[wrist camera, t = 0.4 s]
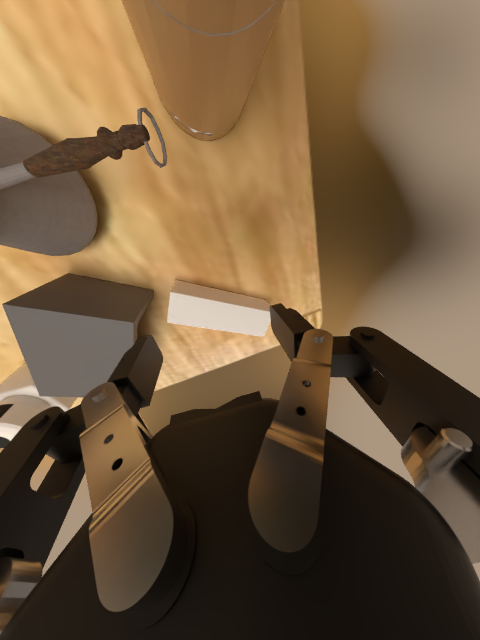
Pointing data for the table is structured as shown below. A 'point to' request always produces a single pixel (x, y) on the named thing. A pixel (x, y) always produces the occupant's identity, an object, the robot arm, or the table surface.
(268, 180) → the table surface
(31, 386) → the medicine bottle
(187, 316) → the long white plank
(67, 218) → the coffee pot
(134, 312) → the shelf
